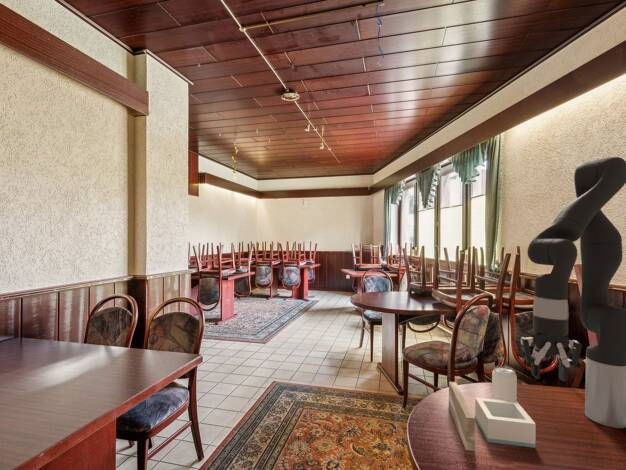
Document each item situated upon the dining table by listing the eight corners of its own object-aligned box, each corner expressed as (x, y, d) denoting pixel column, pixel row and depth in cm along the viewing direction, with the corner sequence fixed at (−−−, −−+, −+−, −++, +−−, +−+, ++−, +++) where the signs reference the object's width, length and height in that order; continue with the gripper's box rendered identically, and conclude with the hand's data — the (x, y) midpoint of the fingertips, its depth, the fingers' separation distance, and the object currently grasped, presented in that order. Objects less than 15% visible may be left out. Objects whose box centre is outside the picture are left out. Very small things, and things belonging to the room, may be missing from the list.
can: (520, 415, 97) (521, 374, 97) (498, 414, 97) (499, 373, 97) (508, 403, 104) (509, 365, 104) (487, 403, 104) (488, 365, 104)
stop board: (455, 408, 100) (455, 382, 100) (474, 451, 81) (475, 418, 81) (448, 407, 101) (448, 381, 101) (465, 449, 81) (466, 417, 81)
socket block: (516, 422, 93) (517, 401, 93) (535, 447, 82) (535, 423, 82) (475, 418, 95) (475, 397, 95) (487, 441, 84) (488, 418, 84)
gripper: (573, 312, 89) (571, 375, 89) (514, 309, 91) (513, 370, 92) (590, 320, 81) (589, 388, 81) (526, 316, 84) (525, 382, 84)
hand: (549, 378), depth 86 cm, fingers open, 5 cm apart
